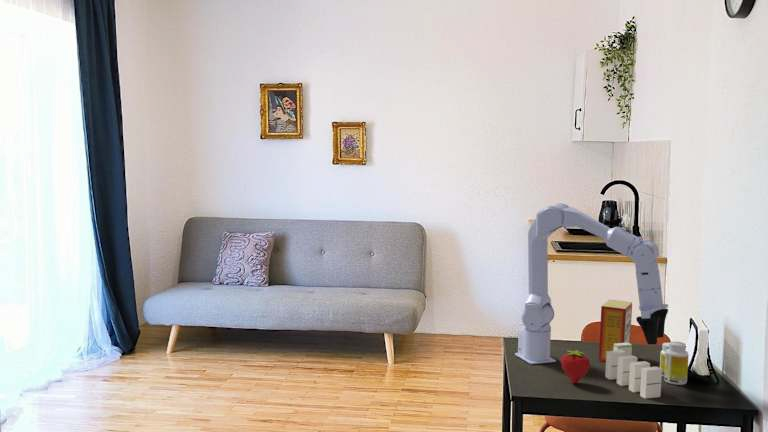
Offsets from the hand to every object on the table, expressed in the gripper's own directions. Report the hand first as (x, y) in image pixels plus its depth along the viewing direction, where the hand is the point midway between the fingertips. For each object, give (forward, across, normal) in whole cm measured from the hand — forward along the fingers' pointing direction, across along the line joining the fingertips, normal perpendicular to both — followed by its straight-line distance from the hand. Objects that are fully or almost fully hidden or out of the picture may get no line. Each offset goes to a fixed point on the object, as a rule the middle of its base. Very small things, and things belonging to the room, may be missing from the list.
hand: (655, 340), depth 199 cm
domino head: (+9, +5, +11) cm, 15 cm away
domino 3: (+10, -10, +3) cm, 14 cm away
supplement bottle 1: (+11, +6, -1) cm, 13 cm away
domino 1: (+9, -3, +11) cm, 14 cm away
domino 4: (+11, -13, 0) cm, 17 cm away
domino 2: (+10, -7, +7) cm, 14 cm away
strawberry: (+8, -14, +18) cm, 24 cm away
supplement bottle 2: (+12, +2, -3) cm, 12 cm away
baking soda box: (+8, +14, +15) cm, 22 cm away
